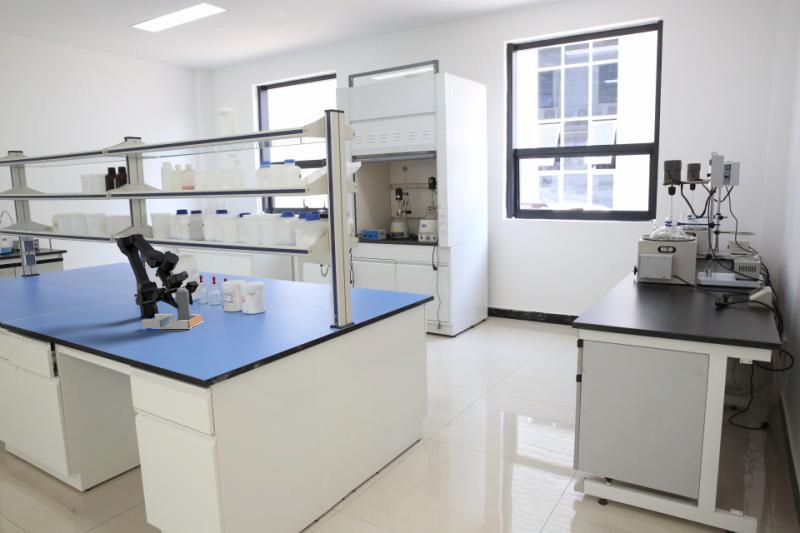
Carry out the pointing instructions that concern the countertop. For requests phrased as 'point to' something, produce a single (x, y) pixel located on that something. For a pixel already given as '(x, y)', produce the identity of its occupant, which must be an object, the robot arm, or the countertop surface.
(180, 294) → the grey pedestal with block
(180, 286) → the robot arm
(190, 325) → the white tray with rails
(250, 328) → the countertop surface
